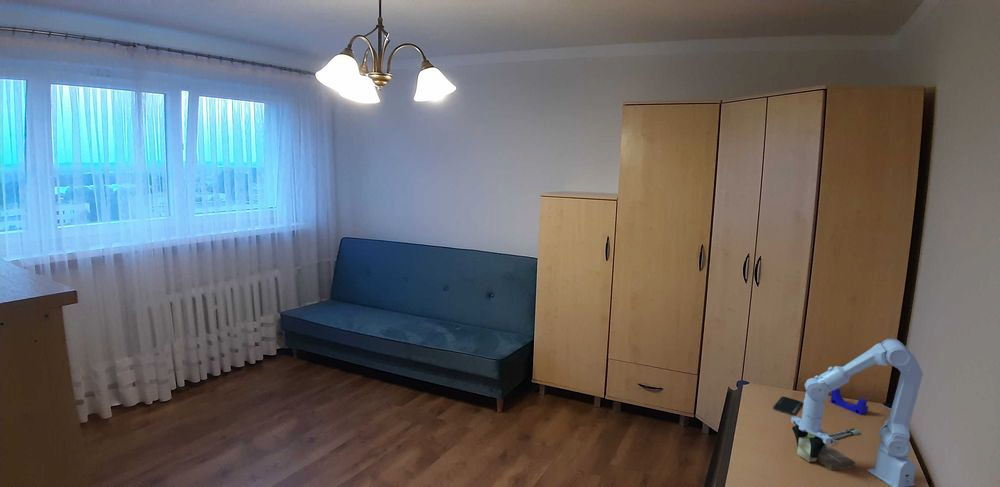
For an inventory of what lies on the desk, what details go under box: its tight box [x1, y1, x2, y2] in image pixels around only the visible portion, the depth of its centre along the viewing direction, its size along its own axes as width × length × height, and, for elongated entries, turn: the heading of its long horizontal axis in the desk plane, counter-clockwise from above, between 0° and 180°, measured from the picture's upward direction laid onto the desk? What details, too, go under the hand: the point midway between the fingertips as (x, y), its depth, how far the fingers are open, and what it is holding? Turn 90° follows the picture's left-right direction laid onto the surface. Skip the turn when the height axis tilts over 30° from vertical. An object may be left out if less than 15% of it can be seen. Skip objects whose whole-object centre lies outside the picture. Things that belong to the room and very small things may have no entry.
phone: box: [772, 396, 803, 416], centre depth 214 cm, size 8×1×15 cm
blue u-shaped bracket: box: [830, 388, 869, 416], centre depth 214 cm, size 12×4×6 cm, turn 26°
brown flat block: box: [816, 444, 856, 471], centre depth 176 cm, size 13×9×2 cm
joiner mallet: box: [796, 437, 827, 463], centre depth 176 cm, size 5×8×6 cm, turn 104°
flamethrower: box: [807, 428, 860, 446], centre depth 191 cm, size 29×3×10 cm
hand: (807, 452), depth 176 cm, fingers closed on joiner mallet, 5 cm apart
